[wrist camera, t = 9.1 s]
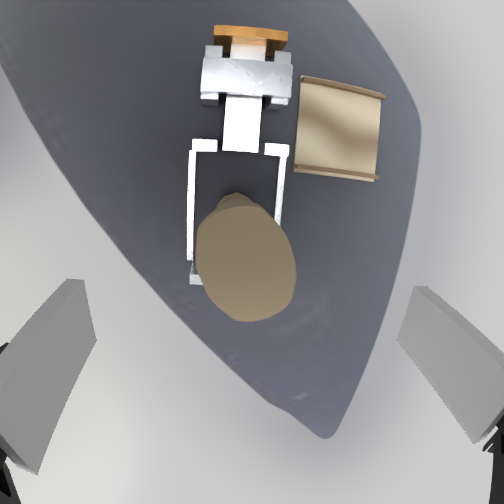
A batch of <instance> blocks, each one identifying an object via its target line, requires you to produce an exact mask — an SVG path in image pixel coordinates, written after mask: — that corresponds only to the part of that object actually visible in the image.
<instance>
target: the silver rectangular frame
mask: <svg viewBox="0 0 504 504" xmlns="http://www.w3.org/2000/svg"><path fill="white" fill-rule="evenodd" d="M217 147H218V140H207V139H193V145H192V150H190V152H189V174H188V207H187V260H193V262H192V267H191V271H190V284H198V285H203V284H202V281H201V279H200V277H199V274H198V271H197V268H196V259H195V258H193V237H194V192H195V167H196V151H211V152H217ZM259 154H264V155H276V156H279V164H278V176H277V187H276V198H275V209H274V220H275V221H276V222H277V223H278V224H279V226H280V219H281V209H282V199H283V188H284V177H285V166H286V157H288V154H289V145H283V144H272V143H260V145H259Z"/></svg>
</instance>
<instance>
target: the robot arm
mask: <svg viewBox="0 0 504 504" xmlns="http://www.w3.org/2000/svg"><path fill="white" fill-rule="evenodd" d="M396 340H397V342H398V343H399V344H400V345H401V346H402V348H403V349H404V350H405V352H406V353H407V354H408V355H409V357H410V358H411V359H412V360H413V362H414V363H415V364H416V366H417V367H418V368H419V370H420V371H421V372H422V373H423V375H424V376H425V377H426V378H427V380H428V381H429V383H430V384H431V385H432V387H433V388H434V389H435V391H436V392H437V393H438V395H439V396H440V397H441V399H442V400H443V402H444V403H445V404H446V406H447V407H448V408H449V410H450V411H451V412H452V414H453V415H454V417H455V418H456V420H457V421H458V422H459V424H460V425H461V427H462V428H463V429H464V431H465V432H466V434H467V435H468V437H469V438H470V440H471V441H472V443H473V444H475V443H477V442H479V441H480V440H482V439H484V438H485V437H487V435H488V434H489V433H490V432H491V430H492V429H493V428H494V427H495V426H497V427H498V430H497V431H496V433H495V434H494V435H493V436H492V437H491V438H490V440H489V441H488V442H487V443H486V444H485V446H484V447H483V450H482V451H485V450H486V449H487V448H488V447H489V446H490V445H491V444H492V443H493V445H492V446H491V447H490V448H489V450H488V452H490V453H493V472H492V483H491V492H490V499H489V504H504V353H503V352H502V351H501V350H499V349H498V348H497V347H496V346H495V345H494V344H493V343H492V342H491V341H490V340H489V339H488V338H487V337H486V336H485V335H483V334H482V333H481V332H480V331H479V330H478V329H477V328H476V327H475V326H473V325H472V324H471V323H470V322H469V321H468V320H467V319H465V318H464V317H463V316H462V315H461V314H460V313H459V312H457V311H456V310H455V309H454V308H453V307H451V306H450V305H449V304H448V303H447V302H445V301H444V300H443V299H442V298H441V297H439V296H438V295H437V294H436V293H434V292H433V291H432V290H431V289H430V288H428V287H427V286H417V287H414V289H413V292H412V295H411V299H410V302H409V305H408V308H407V311H406V314H405V317H404V320H403V322H402V325H401V328H400V331H399V333H398V337H397V339H396ZM96 341H97V340H96V336H95V332H94V328H93V324H92V319H91V315H90V310H89V305H88V300H87V295H86V290H85V284H84V280H77V279H66V280H65V281H64V282H63V283H62V284H61V285H60V287H59V288H58V289H57V290H56V291H55V292H54V293H53V294H52V295H51V296H50V297H49V298H48V299H47V300H46V301H45V302H44V303H43V305H42V306H41V307H40V308H39V309H38V310H37V311H36V312H35V313H34V315H33V316H32V317H31V318H30V319H29V320H28V321H27V323H26V324H25V325H24V326H23V328H22V329H21V330H20V331H19V332H18V333H17V334H16V336H15V337H14V338H13V339H12V340H11V342H10V343H5V344H4V345H2V346H1V347H0V504H21V502H20V499H19V497H18V494H17V491H16V489H15V486H14V483H13V480H12V477H11V474H10V471H9V469H8V467H7V465H6V463H5V460H6V457H7V456H8V457H9V458H10V459H11V461H12V462H13V463H14V464H15V465H16V466H17V467H19V468H21V469H24V470H26V471H28V472H30V473H33V474H35V475H38V472H39V469H40V466H41V463H42V460H43V457H44V455H45V452H46V450H47V447H48V444H49V442H50V439H51V436H52V434H53V432H54V429H55V427H56V425H57V422H58V420H59V417H60V415H61V413H62V411H63V408H64V406H65V404H66V402H67V399H68V397H69V395H70V393H71V390H72V389H73V386H74V384H75V382H76V380H77V378H78V376H79V374H80V372H81V370H82V368H83V366H84V364H85V362H86V360H87V358H88V356H89V354H90V352H91V350H92V348H93V346H94V345H95V343H96Z"/></svg>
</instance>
